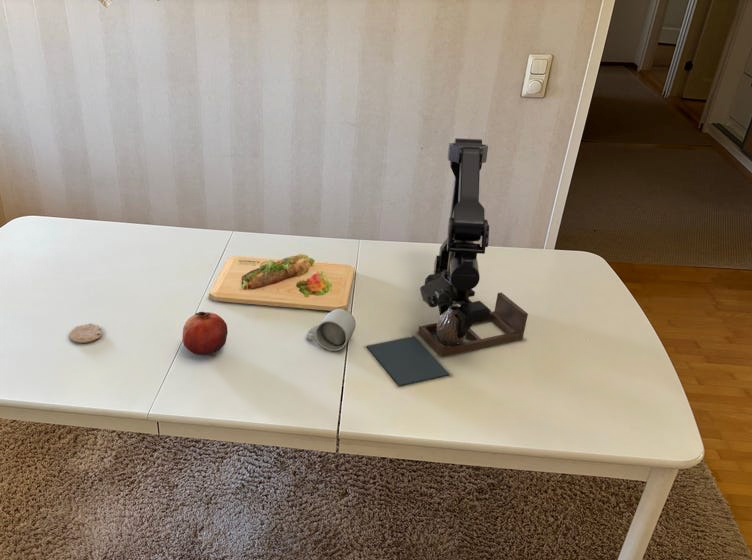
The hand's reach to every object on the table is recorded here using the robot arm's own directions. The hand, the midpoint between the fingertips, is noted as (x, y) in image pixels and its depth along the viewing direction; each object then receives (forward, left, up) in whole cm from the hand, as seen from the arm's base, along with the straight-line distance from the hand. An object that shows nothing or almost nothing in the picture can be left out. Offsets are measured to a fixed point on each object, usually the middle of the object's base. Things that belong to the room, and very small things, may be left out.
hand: (451, 329), depth 166 cm
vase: (0, 0, -3) cm, 3 cm away
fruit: (-15, -54, -3) cm, 56 cm away
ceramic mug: (-9, -26, -3) cm, 28 cm away
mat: (+4, -13, -3) cm, 14 cm away
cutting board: (-38, -27, -3) cm, 47 cm away
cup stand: (0, +5, -3) cm, 6 cm away
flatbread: (-31, -79, -3) cm, 85 cm away
